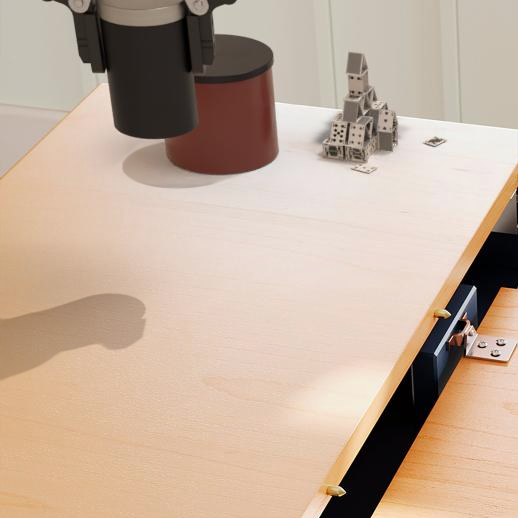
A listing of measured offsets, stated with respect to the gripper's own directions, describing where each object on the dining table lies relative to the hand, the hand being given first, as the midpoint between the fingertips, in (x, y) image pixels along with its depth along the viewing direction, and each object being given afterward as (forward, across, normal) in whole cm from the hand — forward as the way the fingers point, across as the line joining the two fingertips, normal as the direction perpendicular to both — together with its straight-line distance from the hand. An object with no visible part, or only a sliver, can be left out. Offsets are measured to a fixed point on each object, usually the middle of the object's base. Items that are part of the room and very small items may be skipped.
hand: (149, 68), depth 96 cm
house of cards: (+17, -14, -26) cm, 34 cm away
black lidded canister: (+3, 0, 0) cm, 3 cm away
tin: (+16, -1, -26) cm, 31 cm away
